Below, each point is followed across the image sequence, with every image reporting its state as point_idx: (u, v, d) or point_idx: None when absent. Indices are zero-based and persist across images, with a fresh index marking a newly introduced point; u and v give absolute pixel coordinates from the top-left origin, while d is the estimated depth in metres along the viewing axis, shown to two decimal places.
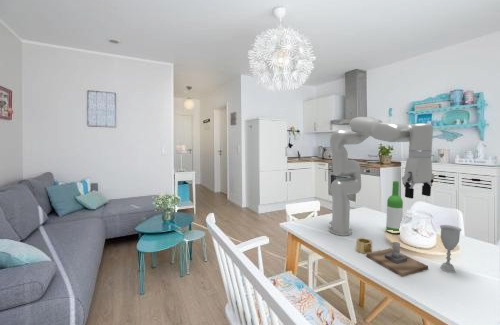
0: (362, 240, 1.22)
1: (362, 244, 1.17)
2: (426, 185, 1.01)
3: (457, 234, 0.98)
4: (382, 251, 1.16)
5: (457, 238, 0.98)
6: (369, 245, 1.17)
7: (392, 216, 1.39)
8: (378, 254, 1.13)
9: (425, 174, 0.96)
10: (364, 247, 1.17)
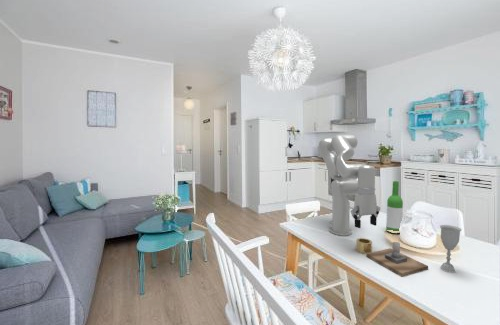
0: (362, 240, 1.22)
1: (362, 244, 1.17)
2: (373, 216, 1.19)
3: (457, 234, 0.98)
4: (382, 251, 1.16)
5: (457, 238, 0.98)
6: (369, 245, 1.17)
7: (392, 216, 1.39)
8: (378, 254, 1.13)
9: (370, 208, 1.16)
10: (364, 247, 1.17)
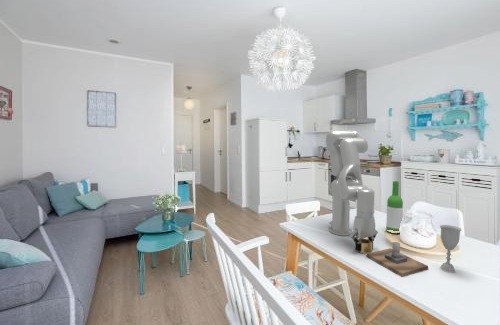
0: (362, 240, 1.22)
1: (362, 244, 1.17)
2: (369, 239, 1.21)
3: (457, 234, 0.98)
4: (382, 251, 1.16)
5: (457, 238, 0.98)
6: (369, 245, 1.17)
7: (392, 216, 1.39)
8: (378, 254, 1.13)
9: (369, 230, 1.17)
10: (364, 247, 1.17)
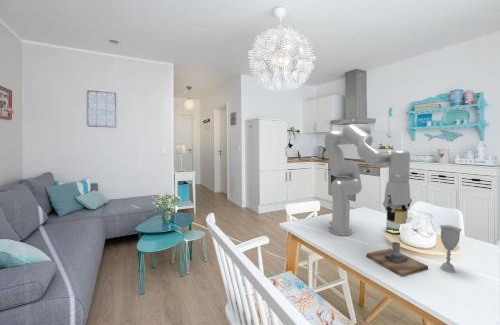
0: (394, 210, 1.09)
1: (396, 213, 1.04)
2: None
3: (457, 234, 0.98)
4: (382, 251, 1.16)
5: (457, 238, 0.98)
6: (404, 214, 1.03)
7: None
8: (378, 254, 1.13)
9: (403, 197, 1.04)
10: (398, 216, 1.03)
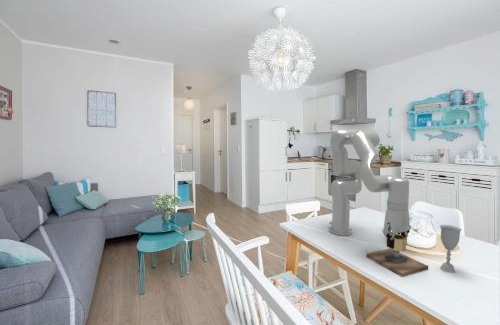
0: (394, 236, 1.09)
1: (395, 240, 1.04)
2: (402, 235, 1.08)
3: (457, 234, 0.98)
4: (382, 251, 1.16)
5: (457, 238, 0.98)
6: (403, 241, 1.04)
7: None
8: (378, 254, 1.13)
9: (403, 225, 1.04)
10: (397, 244, 1.04)
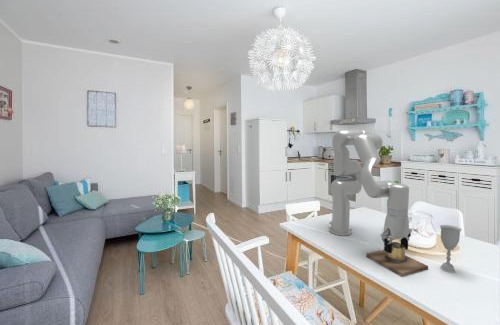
0: None
1: (394, 249, 1.05)
2: (404, 239, 1.09)
3: (457, 234, 0.98)
4: (382, 251, 1.16)
5: (457, 238, 0.98)
6: (402, 250, 1.05)
7: None
8: (378, 254, 1.13)
9: (402, 231, 1.05)
10: (396, 252, 1.05)
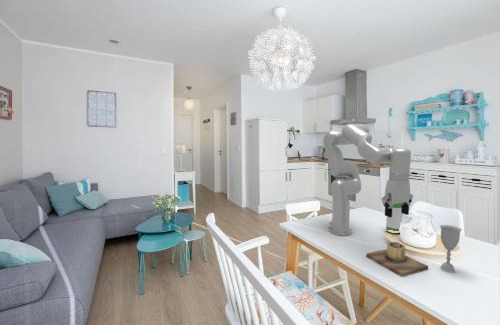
0: None
1: (394, 249, 1.05)
2: (405, 204, 1.09)
3: (457, 234, 0.98)
4: (382, 251, 1.16)
5: (457, 238, 0.98)
6: (402, 250, 1.05)
7: (392, 216, 1.39)
8: (378, 254, 1.13)
9: (403, 195, 1.05)
10: (396, 252, 1.05)
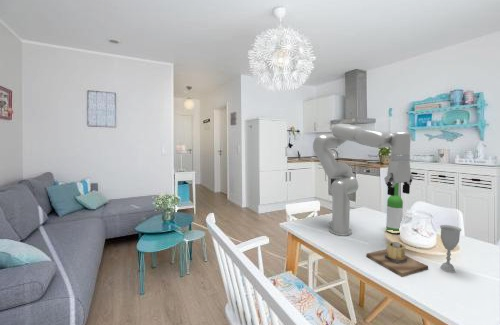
0: None
1: (394, 249, 1.05)
2: (406, 184, 1.18)
3: (457, 234, 0.98)
4: (382, 251, 1.16)
5: (457, 238, 0.98)
6: (402, 250, 1.05)
7: (392, 216, 1.39)
8: (378, 254, 1.13)
9: (404, 175, 1.13)
10: (396, 252, 1.05)
